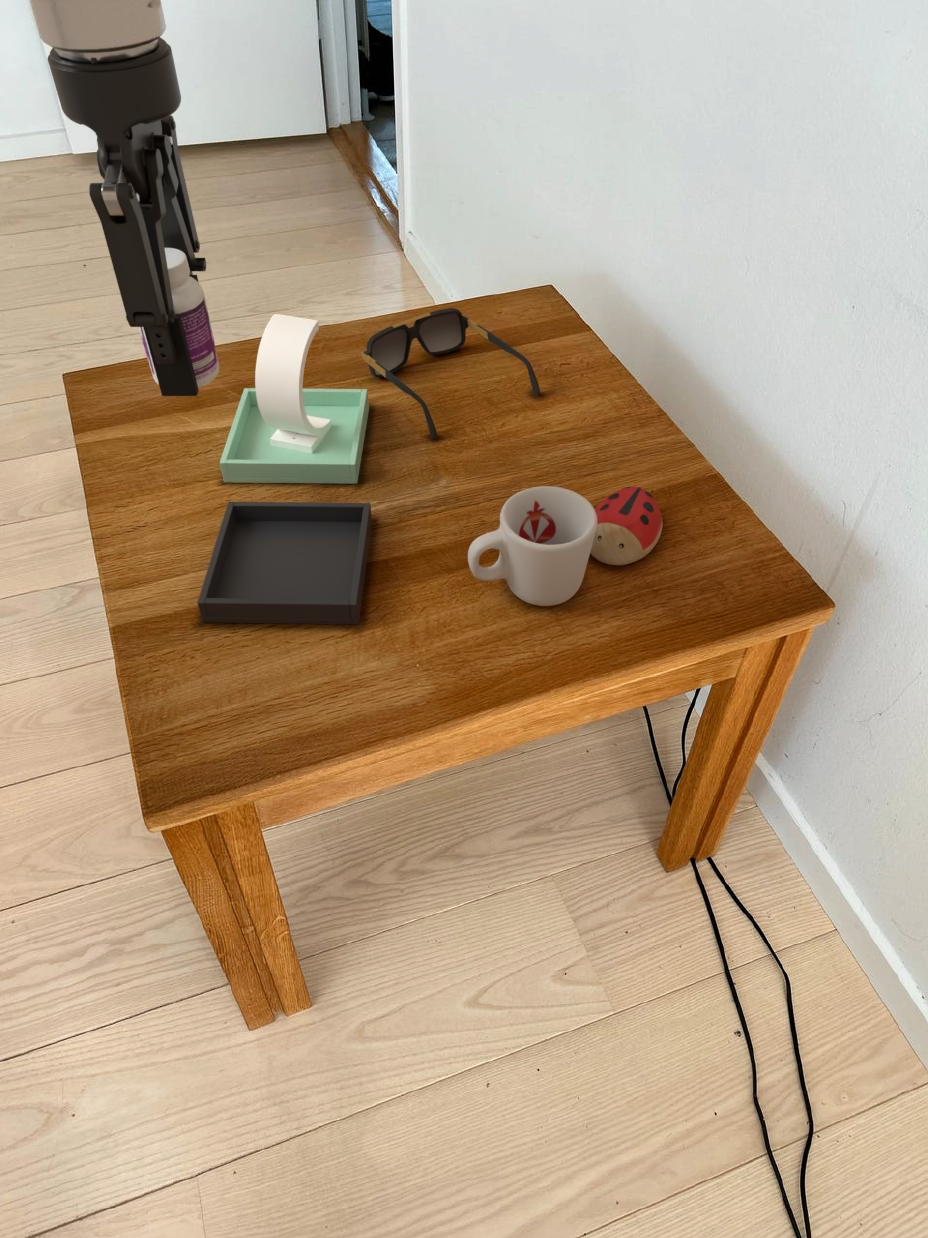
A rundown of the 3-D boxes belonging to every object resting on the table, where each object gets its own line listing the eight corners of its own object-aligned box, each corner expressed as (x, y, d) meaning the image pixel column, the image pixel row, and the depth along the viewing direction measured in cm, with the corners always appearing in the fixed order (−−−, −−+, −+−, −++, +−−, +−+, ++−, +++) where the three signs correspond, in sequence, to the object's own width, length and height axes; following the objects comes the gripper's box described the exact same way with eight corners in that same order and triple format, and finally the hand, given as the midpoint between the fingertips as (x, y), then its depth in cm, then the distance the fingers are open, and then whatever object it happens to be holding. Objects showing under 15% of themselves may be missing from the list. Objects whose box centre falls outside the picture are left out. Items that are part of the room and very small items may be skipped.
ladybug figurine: (570, 558, 84) (574, 528, 81) (604, 495, 90) (608, 465, 87) (642, 579, 82) (648, 549, 79) (671, 513, 88) (678, 483, 85)
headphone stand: (331, 426, 97) (318, 320, 88) (307, 459, 93) (291, 352, 84) (291, 418, 98) (274, 313, 89) (266, 451, 94) (245, 344, 85)
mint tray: (223, 482, 91) (219, 462, 90) (248, 406, 101) (244, 387, 99) (357, 483, 91) (355, 464, 89) (369, 407, 100) (367, 388, 99)
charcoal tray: (202, 622, 78) (197, 602, 77) (232, 521, 87) (228, 501, 86) (358, 624, 78) (356, 604, 76) (372, 522, 87) (370, 502, 85)
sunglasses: (434, 440, 96) (433, 399, 93) (358, 376, 105) (355, 335, 101) (539, 396, 102) (542, 356, 98) (459, 339, 110) (459, 299, 107)
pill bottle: (234, 369, 75) (211, 253, 68) (189, 400, 72) (160, 282, 65) (184, 350, 77) (157, 236, 70) (138, 380, 74) (105, 263, 67)
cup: (481, 632, 77) (482, 562, 72) (456, 569, 83) (455, 499, 77) (602, 607, 79) (612, 537, 74) (570, 547, 85) (577, 477, 79)
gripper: (130, 91, 51) (213, 439, 68) (197, 3, 64) (253, 315, 81) (-5, 91, 51) (111, 439, 68) (88, 3, 64) (167, 315, 81)
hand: (188, 371), depth 74 cm, fingers closed on pill bottle, 5 cm apart
